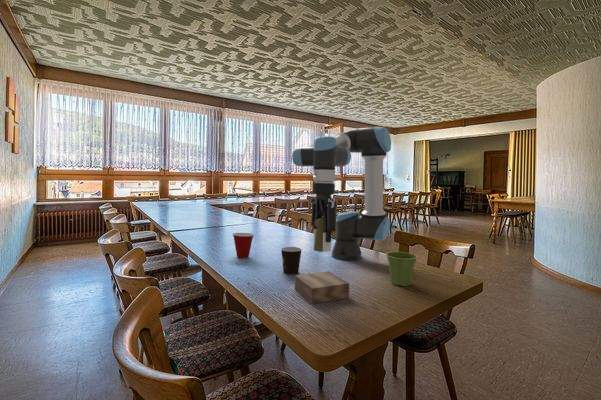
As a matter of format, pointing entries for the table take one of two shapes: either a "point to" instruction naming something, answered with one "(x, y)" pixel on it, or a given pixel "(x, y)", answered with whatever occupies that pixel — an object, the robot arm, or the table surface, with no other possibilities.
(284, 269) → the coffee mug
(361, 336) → the table surface
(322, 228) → the pepper mill
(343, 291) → the walnut pedestal
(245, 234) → the plastic cup
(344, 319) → the table surface
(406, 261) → the plant pot
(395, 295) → the table surface
